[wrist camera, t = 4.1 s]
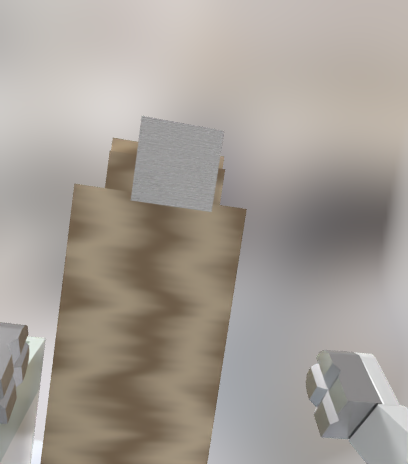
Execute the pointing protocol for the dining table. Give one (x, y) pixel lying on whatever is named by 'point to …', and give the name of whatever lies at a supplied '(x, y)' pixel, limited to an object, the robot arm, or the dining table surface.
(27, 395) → the raised tray
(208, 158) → the bar
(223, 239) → the tan wooden tall block
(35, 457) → the dining table surface
